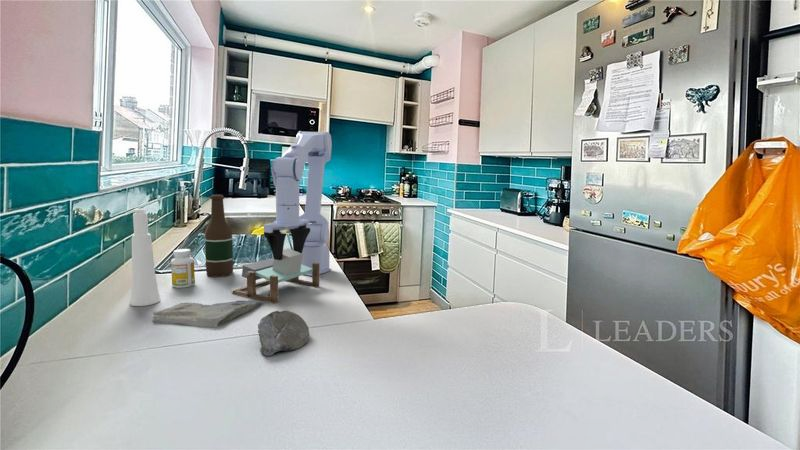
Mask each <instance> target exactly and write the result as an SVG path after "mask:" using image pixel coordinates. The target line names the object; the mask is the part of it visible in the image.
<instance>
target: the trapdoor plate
mask: <svg viewBox="0 0 800 450" xmlns="http://www.w3.org/2000/svg"><path fill="white" fill-rule="evenodd" d="M273 261H274V257H272V258H271V257H270V258H268V259H263V260H259V261H255V262H250V263H247V264H243V265H242V270H241V277H243V278H245V279H247V277H246V273H247V271H253V272H256V281H258V280H261V279H263V280H264V281H265V280H268V281H270V276H272V275H275V276H278V284H279V283H282V282H283V283H284V282H287V281H286V280H289V279H292V278H295V277H298V276H299V277H301V276H305V275H304V274H307V273H310V272H313V269H312V268H310V267H307V266H304V265H302V264H301V270H300V272H297V273H294V274H291V275H288V276H286V275H284V274H281V273H279V272H277V271H274V270H272V269H273Z"/></svg>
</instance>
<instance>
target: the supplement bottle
mask: <svg viewBox="0 0 800 450" xmlns="http://www.w3.org/2000/svg"><path fill="white" fill-rule="evenodd" d="M191 254H192V251H191V249H190V248H179V249H178V248H177V249H175V250H173V257H174V258H171V260H170V269H171V284H172V287H173V288H176V289H181V288H182V289H183V288H189V287H192V286H194V285H195V284H196V282H195V281H196V278H195V277H196V276H195V261H194V258H193V257H192V256H191Z"/></svg>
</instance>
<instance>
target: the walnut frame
mask: <svg viewBox="0 0 800 450" xmlns="http://www.w3.org/2000/svg"><path fill="white" fill-rule="evenodd" d="M312 269H313V272H312V276H311V278H312V279H311V281H309V280H308V281H307V280H304V279H300V278H299V277H300V276H298V277H295V278H292V279H289V280H286V281H285V282H288V283H294V284H300V285H306V286H311V287H314V288H315V287H316V288H318V287H320V274H319V263H312ZM246 277H247V278H246V286H243V287H240V288H235V289H234V290H232V291H231V292H232V294H233V295H237V296H240V297H245V298H251V299H254V300H257V301H262V302H263V301H264V302H268V303H271V304H277V303H279V283H278V276H275V275H272V276H270V281H268V280H265V279H264V280H263V281H259V282H257V280H256V272H253V271H247V273H246ZM268 284H269V294H270V295H269V296H267V295H262V294H258V293H257V288H259V287H262V286H265V285H268Z"/></svg>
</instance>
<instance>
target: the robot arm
mask: <svg viewBox="0 0 800 450" xmlns="http://www.w3.org/2000/svg"><path fill="white" fill-rule="evenodd" d="M332 147H333V143H332V135H331V134H330V132H329V131H302V130H299V131H298V132H297V134H296V138H295V144H291V145H290V146H289V148H288V149H287V150H286V151H285V153H283V155H282V156H278V157H275V158H274V159H273V160H272V163H271V168H270V169H271V170H270V171H271V176H272V179H273V186H274V187H275V220H274V221H273V222H270V223H265V224H263V236H264V237H265V239H266V241H267V243H268V244H269V247H270V250H271V253H272V258H274V259H275V260H282V257H283V250H284V244H285V243H284V242H285V240H286V236H287V233H283V232H282V231H285V230H289V233H290V235H291V239H292V250H294V251H297V252H299V253H302V254H303V256H302V263H301V264H302V265H304V266H307V267H310V268H312V263H319V275H321V274H324V273H327V272H330V271H332V270H331V269H332V268H331V267H330V248H329V247H328V245H327V242H328V240H329V235H330V234H329V232H330V231H329V221H328V219H327V218H326V217H325V216H323V215H322V213H321V208H322V196H323V187H324V186H323V184H324V183H323V182H324V171H325V168H326V167H325V166H326V163H327V162H329V161H331V157H332V149H333V148H332ZM306 163H308V172H307V173H308V174H307V183H306V185H307V187H306V196H305V205H304V212H303V213H302V214H300V180H302V178H303V172H304V169H305V168H304V166H305V165H306ZM329 270H330V271H329ZM303 276H311V277H312V272H310V273H307V274H304V275H303Z"/></svg>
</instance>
